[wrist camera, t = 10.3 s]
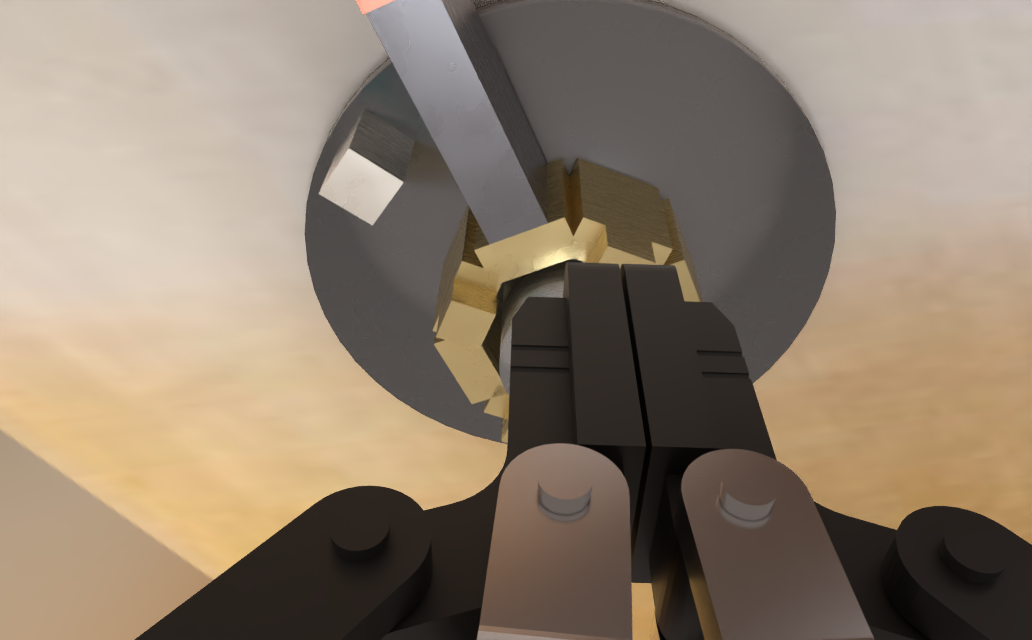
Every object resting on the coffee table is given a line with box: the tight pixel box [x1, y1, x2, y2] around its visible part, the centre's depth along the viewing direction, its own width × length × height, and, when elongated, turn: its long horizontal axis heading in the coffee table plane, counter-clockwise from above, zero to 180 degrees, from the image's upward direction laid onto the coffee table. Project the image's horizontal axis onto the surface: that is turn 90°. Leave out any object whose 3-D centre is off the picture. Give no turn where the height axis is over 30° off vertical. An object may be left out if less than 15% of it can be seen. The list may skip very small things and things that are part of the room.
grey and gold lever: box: [356, 0, 703, 443], centre depth 27 cm, size 19×9×5 cm, turn 24°
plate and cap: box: [305, 0, 836, 444], centre depth 30 cm, size 20×20×7 cm
